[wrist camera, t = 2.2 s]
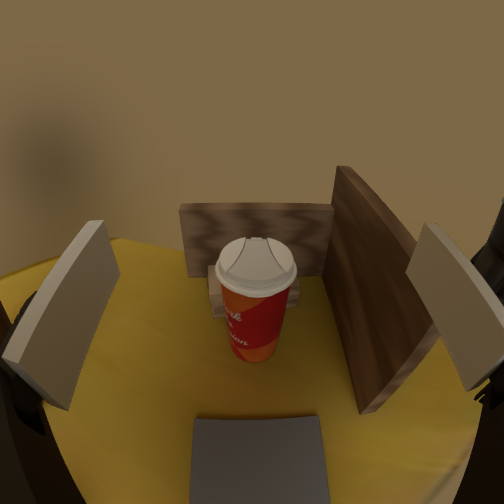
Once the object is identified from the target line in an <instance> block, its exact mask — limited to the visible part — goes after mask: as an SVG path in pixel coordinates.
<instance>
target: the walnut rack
mask: <svg viewBox="0 0 504 504" xmlns="http://www.w3.org/2000/svg"><path fill="white" fill-rule="evenodd" d="M179 216H180V223H181V230H182V237H183V244H184V251H185V257H186V263H187V269H188V275H189V277H208V266H209V265H216V263H217V261H218V259H219V256H220V253H221V251H222V250H223V248H224V247H225V246H226V245H228V244H229V243H230V242H232V241H234V240H237V239H240V238H244V237H246V239H251V237H255V238H262V239H266V240H267V238H271V239H274V240H277V241H279V242H281V243H282V244H284V245H285V246H286V247H288V249H289V250H290V251H291V253H292V255H293V259H294V261H295V263H296V267H297V274H296V276H322V278H323V281H324V285H325V288H326V291H327V294H328V297H329V301H330V304H331V307H332V311H333V314H334V317H335V321H336V324H337V328H338V331H339V335H340V338H341V342H342V346H343V349H344V353H345V357H346V360H347V364H348V368H349V372H350V376H351V380H352V384H353V388H354V392H355V396H356V400H357V405H358V409H359V413H360V415H362V414H367V413H371V412H376V411H377V410H378V409H379V408H380V407H381V406H382V405H383V404H384V403H385V401H386V400H387V399H388V398H389V397H390V396H391V395H392V394H393V393H394V392H395V391H396V390H397V389H398V388H399V387H400V385H401V384H402V383H403V382H404V381H405V380H406V379H407V378H408V376H409V375H410V374H411V373H412V372H413V371H414V369H415V368H416V367H417V366H418V364H419V363H420V362H421V361H422V360H423V358H424V357H425V356H426V354H427V353H428V352H429V351H430V349H431V348H432V347H433V345H434V344H435V343H436V341H437V340H438V339H439V337H440V336H441V335H440V333H439V331H438V329H437V327H436V325H435V323H434V321H433V319H432V318H431V316H430V314H429V312H428V310H427V308H426V307H425V305H424V303H423V301H422V299H421V298H420V296H419V294H418V293H417V291H416V289H415V287H414V286H413V284H412V282H411V281H410V279H409V277H408V276H407V274H406V273H405V272H406V270H407V267H408V265H409V263H410V260H411V258H412V255H413V252H414V250H415V247H416V245H417V242H416V241H415V239H414V238H413V237H412V235H411V234H410V233H409V232H408V230H407V229H406V228H405V227H404V226H403V224H402V223H401V222H400V221H399V220H398V219H397V217H396V216H395V215H394V214H393V212H392V211H391V210H390V209H389V208H388V207H387V206H386V204H385V203H384V202H383V201H382V200H381V199H380V198H379V196H378V195H377V194H376V193H375V192H374V191H373V190H372V189H371V188H370V187H369V186H368V185H367V184H366V183H365V182H364V180H363V179H362V178H361V177H360V176H359V175H358V174H357V173H356V172H355V171H354V170H353V169H352V168H351V167H347V166H337V169H336V176H335V182H334V189H333V195H332V202H331V204H310V203H193V204H181V206H180V209H179Z"/></svg>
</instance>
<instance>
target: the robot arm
mask: <svg viewBox="0 0 504 504" xmlns="http://www.w3.org/2000/svg"><path fill="white" fill-rule="evenodd" d="M502 202H503V203H502V206H501V209H500V211H499V214H498V216H497V219H496V222H495V224H494V226H493V229H492V231H491V234H490V236H489V238H488V240H487V242H486V244H485V245H484V246H483V247H482V248H481V249H480V250H479V251H478V252H477V254H476V255H475V256H474V257H473V258H472V259H471V260H470V261H469V259H468V258H467V257H466V256H465V255H464V253H463V252H462V251H461V250H460V249H459V248H458V246H457V245H456V244H455V243H454V242H453V241H452V239H451V238H450V237H449V236H448V235H447V234H446V233H445V232H444V231H443V230H442V228H441V227H440V226H439V225H438V224H436V223H424V225H423V228H422V231H421V234H420V236H419V239H418V242H417V245H416V247H415V250H414V252H413V255H412V258H411V260H410V263H409V265H408V267H407V270H406V272H405V273H406V274H407V276H408V277H409V279H410V281H411V282H412V284H413V286H414V287H415V289H416V291H417V293H418V294H419V296H420V298H421V299H422V301H423V303H424V305H425V307H426V308H427V310H428V312H429V314H430V316H431V318H432V319H433V321H434V323H435V325H436V327H437V329H438V331H439V333H440V335H441V337H442V339H443V341H444V343H445V345H446V347H447V349H448V351H449V353H450V356H451V358H452V360H453V362H454V364H455V367H456V369H457V371H458V373H459V376H460V378H461V380H462V383H463V385H464V388H465V390H466V392H468V391H470V390H473V389H475V388H477V387H479V386H480V385H481V384H482V383H483V382H484V381H485V380H487V379H488V378H489V379H490V381H491V382H490V383H488V384H487V385H486V386H485V387H484V388H483V389H482V390H481V391H480V392H479V393H478V394H477V395H476V396H475V398H474V400H475V401H476V400H477V399H478V398H480V397H481V396H482V395H483V394H485V395H484V396H483V397H482V398H481V399H480V400H479V402H480V403H482V404H483V407H482V412H481V417H480V422H479V426H478V430H477V434H476V438H475V442H474V445H473V449H472V452H471V455H470V459H469V462H468V465H467V468H466V471H465V473H464V476H463V479H462V481H461V484H460V487H459V489H458V491H457V494H456V496H455V498H454V501H453V503H452V504H504V198H503V200H502ZM119 276H120V271H119V268H118V265H117V262H116V259H115V256H114V253H113V250H112V246H111V243H110V240H109V236H108V233H107V229H106V226H105V222H104V220H96V221H88V222H87V223H86V225H85V226H84V227H83V228H82V230H81V231H80V232H79V233H78V235H77V236H76V237H75V239H74V240H73V241H72V242H71V244H70V245H69V246H68V248H67V249H66V251H65V252H64V253H63V255H62V256H61V257H60V259H59V260H58V262H57V263H56V264H55V266H54V267H53V269H52V270H51V272H50V273H49V275H48V276H47V277H46V279H45V281H44V282H43V284H42V285H41V287H40V288H39V290H38V291H35V292H34V293H33V294H32V295H31V296H30V297H29V298H28V299H27V300H26V301H25V303H24V305H23V306H22V308H21V310H20V311H19V314H18V315H17V317H16V318H15V320H14V324H12V326H11V327H10V329H9V331H8V333H7V335H6V337H5V339H4V341H3V343H2V345H1V347H0V504H86V502H85V500H84V499H83V497H82V495H81V493H80V492H79V490H78V488H77V486H76V484H75V482H74V480H73V478H72V476H71V474H70V472H69V470H68V468H67V466H66V464H65V462H64V460H63V458H62V455H61V453H60V451H59V448H58V446H57V443H56V441H55V439H54V436H53V433H52V431H51V428H50V425H49V422H48V420H47V417H46V414H45V410H44V408H43V407H42V405H41V404H40V400H41V397H42V398H43V399H44V400H45V401H46V402H48V403H49V404H50V405H51V406H54V407H57V408H60V409H63V410H66V411H69V407H70V404H71V400H72V397H73V394H74V390H75V387H76V384H77V381H78V378H79V375H80V372H81V369H82V366H83V363H84V360H85V358H86V355H87V352H88V349H89V347H90V344H91V341H92V339H93V336H94V334H95V331H96V329H97V326H98V324H99V321H100V319H101V316H102V314H103V312H104V309H105V307H106V305H107V302H108V300H109V298H110V296H111V293H112V291H113V289H114V287H115V285H116V282H117V280H118V278H119Z"/></svg>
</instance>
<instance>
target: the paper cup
mask: <svg viewBox="0 0 504 504" xmlns="http://www.w3.org/2000/svg"><path fill="white" fill-rule="evenodd" d="M215 272H216V276H217V278H218V280H219V281H220V283H221V289H222V295H223V302H224V308H225V314H226V319H227V325H228V331H229V336H230V341H231V345H232V349H233V351H234V353H235V354H236V356H237V357H239V358H240V359H242V360H244V361H246V362H252V363H256V362H262V361H264V360H266V359H268V358H269V357H270V356H271V355H272V354H273V353H274V351H275V348H276V345H277V341H278V338H279V334H280V330H281V326H282V322H283V317H284V313H285V309H286V304H287V300H288V296H289V291H290V287H291V284H292V283H293V281H294V280H295V277H296V274H297V267H296V263H295V261H294V259H293V255H292V253H291V251H290V250H289V249H288V247H286V246H285V245H284V244H282V243H281V242H279V241H277V240H274V239H271V238H267V240H266V239H262V238H255V237H251V239H246V237H244V238H240V239H237V240H234V241H232V242H230V243H229V244H228V245H226V246H225V247H224V248H223V250H222V251H221V253H220V256H219V259H218V261H217V263H216V266H215Z"/></svg>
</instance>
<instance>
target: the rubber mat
mask: <svg viewBox="0 0 504 504" xmlns="http://www.w3.org/2000/svg"><path fill="white" fill-rule="evenodd" d="M190 504H330V498H329V489H328V481H327V473H326V465H325V457H324V450H323V443H322V436H321V429H320V422H319V416H318V415H316V416H307V417H296V418H283V419H263V420H216V419H196V418H194V430H193V445H192V462H191V482H190Z"/></svg>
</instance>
